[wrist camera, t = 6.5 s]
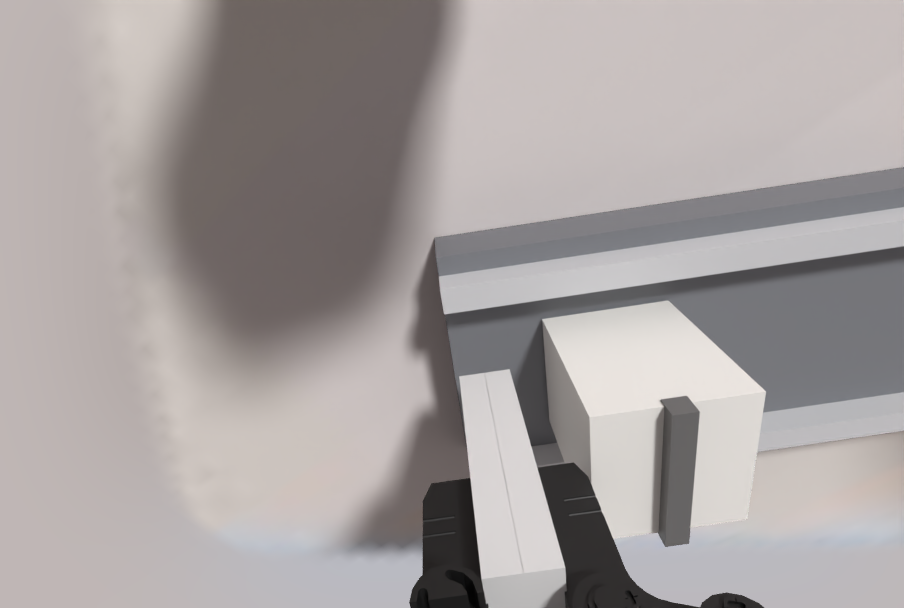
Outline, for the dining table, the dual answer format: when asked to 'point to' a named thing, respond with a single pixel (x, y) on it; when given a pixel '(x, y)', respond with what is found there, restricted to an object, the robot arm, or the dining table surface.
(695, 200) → the slider track
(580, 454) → the fader tab
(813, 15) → the dining table surface
